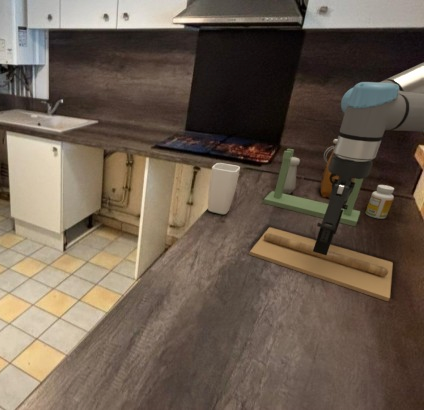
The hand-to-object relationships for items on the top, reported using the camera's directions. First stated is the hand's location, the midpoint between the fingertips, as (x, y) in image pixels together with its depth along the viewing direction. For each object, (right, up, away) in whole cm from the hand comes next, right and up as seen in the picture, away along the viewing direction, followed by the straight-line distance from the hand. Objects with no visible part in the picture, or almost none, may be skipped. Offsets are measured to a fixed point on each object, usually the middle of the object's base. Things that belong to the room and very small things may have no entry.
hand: (324, 242), depth 87 cm
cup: (-15, +7, +28) cm, 33 cm away
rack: (+16, +8, +31) cm, 35 cm away
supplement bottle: (+34, +5, +27) cm, 44 cm away
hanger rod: (0, -3, +1) cm, 3 cm away
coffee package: (+32, +13, +43) cm, 55 cm away
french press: (+47, +21, +63) cm, 81 cm away
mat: (0, -5, +2) cm, 5 cm away
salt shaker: (+16, +14, +45) cm, 50 cm away
